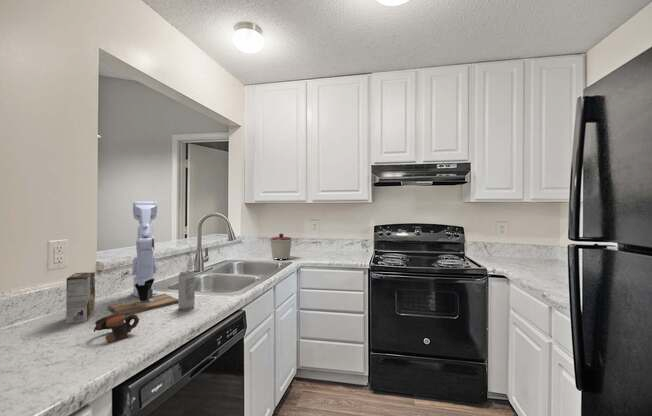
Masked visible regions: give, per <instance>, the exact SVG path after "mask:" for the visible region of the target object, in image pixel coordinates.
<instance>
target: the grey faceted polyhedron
mask: <svg viewBox="0 0 652 416" xmlns="http://www.w3.org/2000/svg"><path fill="white" fill-rule="evenodd" d="M153 291H154V288H153V289H150V288H149V291H148V296H147V299H150V298H152V296H154V294H153ZM136 299H139V300H140V297H139V293H138V291H137V296H136Z"/></svg>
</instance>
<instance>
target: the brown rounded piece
mask: <svg viewBox="0 0 652 416" xmlns="http://www.w3.org/2000/svg"><path fill="white" fill-rule="evenodd" d="M132 320H134V321H133V323H132V324H131V321H132ZM139 323H140V318H139V316H138V315H137V314H129V315H125V316H123V313H113V314H110V315H107V316H104V317H101V318H100V319H97V320H96V321H95V322H94V324H95V327H94V329H93V333H95V332H96V331H104V330H111V331H112V332H111V333H109V334H107V335H106V336H105V340H106V343H107V344H109V343H111V342H114V341H117V340H122V339H125V338H128V336H129V335H128V334H130V333H131V332H132V330H133V329H134V328H136V327H137V326H138V324H139Z"/></svg>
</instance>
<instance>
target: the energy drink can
mask: <svg viewBox="0 0 652 416" xmlns="http://www.w3.org/2000/svg"><path fill="white" fill-rule="evenodd" d="M195 277H196V274H195V272H194V270H193V269H183V270H181V271H180V273H179V274H178V296H177V297H178V298H177V299H178V303H177V305H178V308H179V309H180V310H191V309H192V308H194V306H195V300H196V299H195V295H196V294H195V292H196V290H195V289H196V288H195V287H196V286H195V285H196V284H195V282H196V281H195V280H196V279H195Z"/></svg>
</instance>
